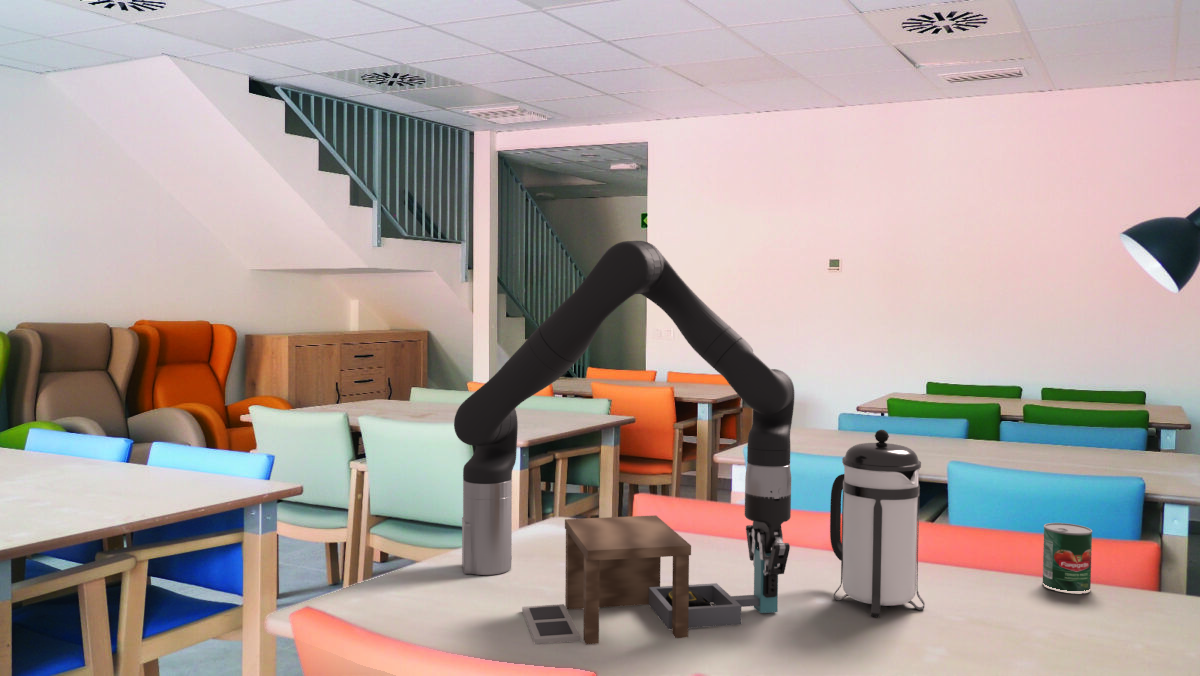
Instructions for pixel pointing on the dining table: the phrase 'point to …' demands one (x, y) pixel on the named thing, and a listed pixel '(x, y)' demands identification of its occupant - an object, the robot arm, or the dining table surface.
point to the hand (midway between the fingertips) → (765, 592)
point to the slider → (716, 602)
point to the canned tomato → (1067, 556)
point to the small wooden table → (623, 567)
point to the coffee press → (877, 523)
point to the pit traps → (550, 624)
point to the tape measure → (691, 599)
